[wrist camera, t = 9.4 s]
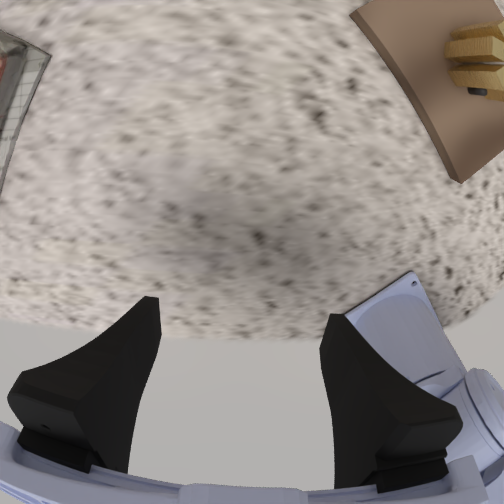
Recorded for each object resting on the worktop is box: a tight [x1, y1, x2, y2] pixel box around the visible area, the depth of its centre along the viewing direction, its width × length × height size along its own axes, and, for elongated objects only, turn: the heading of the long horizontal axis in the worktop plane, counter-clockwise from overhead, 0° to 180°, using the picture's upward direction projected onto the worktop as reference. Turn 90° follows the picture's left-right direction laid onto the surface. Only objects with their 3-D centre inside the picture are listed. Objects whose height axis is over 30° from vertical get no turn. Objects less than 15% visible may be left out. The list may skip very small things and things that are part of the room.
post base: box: [350, 0, 504, 184], centre depth 13 cm, size 13×11×5 cm
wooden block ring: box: [444, 20, 504, 102], centre depth 12 cm, size 5×5×5 cm
